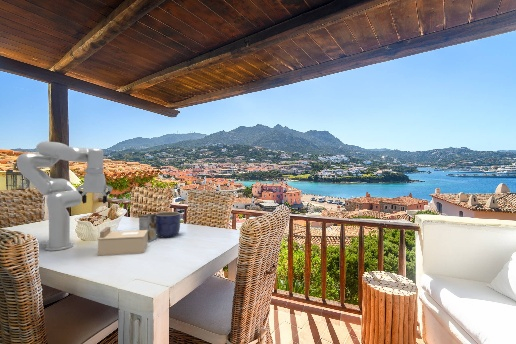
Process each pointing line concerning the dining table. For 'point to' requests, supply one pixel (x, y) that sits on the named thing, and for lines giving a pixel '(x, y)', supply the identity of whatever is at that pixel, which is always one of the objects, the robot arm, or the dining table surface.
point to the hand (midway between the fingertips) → (94, 203)
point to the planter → (167, 224)
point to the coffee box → (148, 225)
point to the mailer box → (122, 246)
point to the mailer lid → (121, 234)
